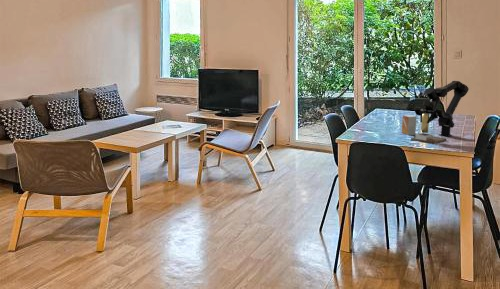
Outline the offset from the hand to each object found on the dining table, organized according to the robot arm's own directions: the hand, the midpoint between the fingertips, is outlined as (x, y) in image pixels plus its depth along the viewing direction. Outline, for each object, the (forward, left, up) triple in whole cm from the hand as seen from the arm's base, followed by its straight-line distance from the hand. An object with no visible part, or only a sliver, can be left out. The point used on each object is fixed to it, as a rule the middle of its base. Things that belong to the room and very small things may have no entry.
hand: (424, 122), depth 294 cm
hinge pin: (-1, 0, -7) cm, 7 cm away
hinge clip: (-1, 0, -11) cm, 11 cm away
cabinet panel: (-5, +1, -12) cm, 13 cm away
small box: (-14, -20, -13) cm, 28 cm away
